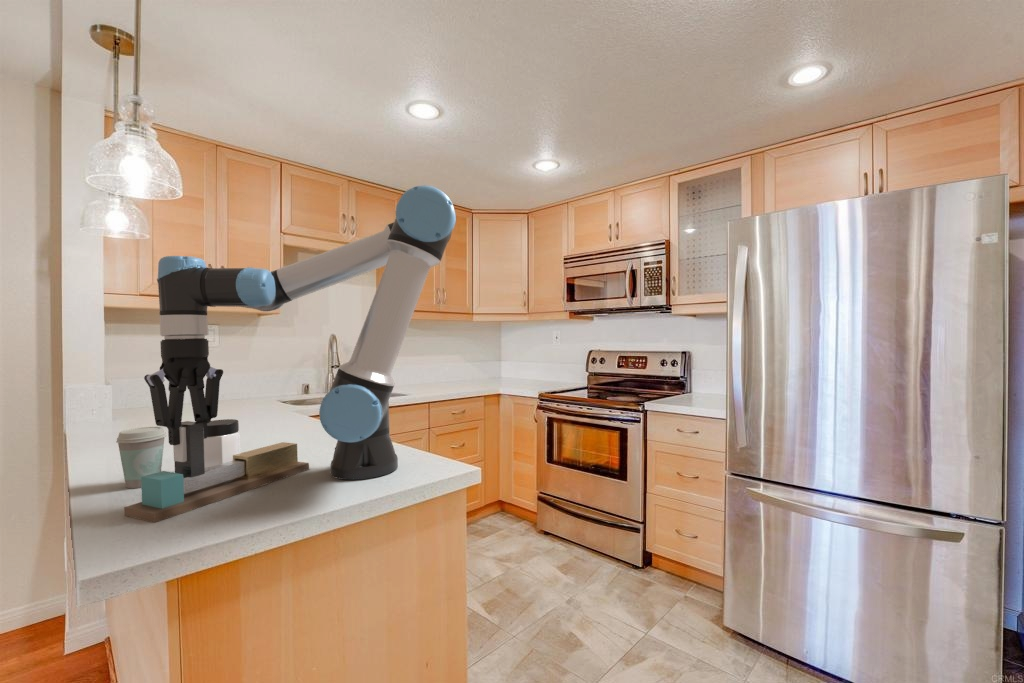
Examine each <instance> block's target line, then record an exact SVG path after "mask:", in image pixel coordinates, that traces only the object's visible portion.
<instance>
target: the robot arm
mask: <svg viewBox="0 0 1024 683" xmlns="http://www.w3.org/2000/svg"><path fill="white" fill-rule="evenodd" d="M456 218H457V217H456V211H455V207H454V204H453V202H452V200H451V198H450V197H449V196H448V195H447V194H446V193H445V192H443V191H442V190H441V189H439V188H437V187H435V186H432V185H431V186H430V185H416V186H413V187H411V188H409V189H407V190H406V191H405V192H403V194H402V195H401V196H400V197H399V200H398V202H397V203H396V206H395V219H394V222H391V223H388V224H386V225H385V227H384V230H382V231H380V232H377V233H374V234H371V235H369V236H366V237H363V238H360V239H357V240H354V241H352V242H349V243H346V244H344V245H341V246H338V247H336V248H332V249H330V250H327V251H324V252H321V253H319V254H316V255H313V256H310V257H308V258H305V259H302V260H299V261H297V262H293V263H291V264H288V265H285V266H282V267H280V268H277V269H276V270H272V271H270V270H268V268H255V267H249V266H248V267H236V268H235V267H231V268H230V267H229V268H227V267H224V268H222V267H220V268H217V267H215V268H212V267H208V266H207V265H206V261H205V260H204V259H202V258H200V257H195V256H189V255H188V256H186V255H185V256H184V255H183V256H182V255H167V256H163V257H161V258H159V260H158V264H157V266H158V267H157V268H158V269H157V278H156V281H157V287H158V303H159V332H160V333H159V335H160V336H161V337H164V339H161V340H160V358H161V360H162V361H161V364H160V367H159V370H157V371H155V372H153V373H151V374H146V375H144V377H143V379H144V381H145V383H146V384H147V386H148V387H149V391H150V398H151V403H152V410H153V415H154V416H153V417H154V422H155V425H156V427H163V428H167V432H168V433H167V434H168V444H169V446H173V447H172V448H173V461H174V462H175V461H178V462H185V461H187V448H186V427H180V426H181V422H183V421H182V418H183V411H184V410H183V409H184V402H185V400H184V399H185V392H186V391H187V390H188V391H189V396H190V401H191V407H192V412H193V420H194V422H202V423H203V433H204V439H205V438H207V423H209V422H210V421H212V419H215V418H217V416H218V411H219V410H218V409H219V399H220V398H219V397H220V396H219V395H220V385H221V384H220V382H221V378H222V377H223V374H224V370H223V369H222V368H221V369H218V368H215V367H212V366H211V363H210V362H209V358H208V357H209V355H210V349H209V340H208V338H206V336H208V335H209V322H208V307H211V308H213V307H214V308H215V307H224V308H226V307H227V308H228V307H229V308H230V307H234V308H235V307H236V308H237V307H240V308H245V309H253V310H257V311H260V312H271V311H277V310H278V309H280V308H282V307H283V306H284V304H286V303H289V302H292V301H294V300H296V299H299V298H303V297H304V296H308V295H310V294H313V293H316V292H318V291H320V290H324V289H326V288H329V287H332V286H335V285H337V284H339V283H343V282H346V281H347V280H350V279H354V278H356V277H359V276H361V275H364V274H367V273H369V272H372V271H374V270H377V269H380V268H384V270H383V273H382V274H381V277H380V280H379V282H378V286H377V288H376V291H375V293H374V296H373V299H372V301H371V304H370V307H369V309H368V311H367V315H366V317H365V319H364V322H363V325H362V328H361V330H360V333H359V336H358V338H357V342H356V343H355V346H354V349H353V351H352V353H351V355H350V356H351V357H350V359H349V360H348V362H345V363H343V364H340V365H339V366H338V369H337V372H336V374H335V377H334V379H333V381H332V384H331V387H330V389H329V391H328V392H327V393H326V394H325V396H324V397H323V398H322V400H321V403H320V406H319V411H318V412H319V414H318V415H319V416H318V417H319V420H320V424H321V426H322V428H323V429H324V431H325V432H326V433H327V434H328V435H329V436H330V437H331V438H332V439H335V440H336V441H337V443H336V445H335V449H334V453H333V457H332V460H331V461H330V464H329V465H330V467H329V468H330V470H329V471H330V475H331V477H333V478H335V479H340V480H349V481H350V480H365V479H373V478H377V477H378V478H379V477H383V476H385V475H388V474H391V473H392V472H395V471H396V470H397V469H398V467H399V461H398V460H399V459H398V456H397V453H396V452H395V448H394V445H393V442H392V441H393V440H392V439H391V436H390V404H389V401H390V397H391V396H392V392H393V391H394V390H393V389H394V387H395V384H396V383H395V382H394V380H393V377H392V372H393V369H394V366H395V363H396V360H397V357H398V355H399V353H400V350H401V348H402V345H403V342H404V340H405V336H406V334H407V332H408V329H409V327H410V326H409V325H410V324H411V320H412V318H413V316H414V315H413V314H415V309H416V306H417V304H418V301H419V299H420V296H421V294H422V292H423V288H424V286H425V283H426V281H427V278H428V276H429V273H430V270H431V269H432V268H433V267H436V266H437V265H440V263H441V261H442V259H443V256H444V253H445V250H446V248H447V245H448V243H449V242H450V239H451V237H452V233H453V229H455V225H456V220H457V219H456ZM205 377H206V381H205V382H204V379H205ZM164 378H165V379H166V380H167V382H168V388H167V390H168V391H169V394H168V398H167V392H166V387H165V384H164V382H165V381H166V380H165V379H164ZM204 389H205V390H204Z"/></svg>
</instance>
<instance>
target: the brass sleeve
mask: <svg viewBox="0 0 1024 683" xmlns="http://www.w3.org/2000/svg"><path fill="white" fill-rule="evenodd" d="M237 459H244V460H246V475H244V476H241V477H237V478H241V479H248V480H249V479H252V478H255V477H258V476H261V475H264V474H267V473H271V472H274V471H277V470H280V469H283V468H286V467H289V466H292V465H295V464H298V462H299V461H298V443H294V442H285V441H284V442H279V443H278V442H277V443H275V444H269V445H266V446H264V447H259V448H256V449H252V450H248V451H244V452H240V454H236V455H233V460H237Z"/></svg>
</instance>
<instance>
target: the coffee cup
mask: <svg viewBox="0 0 1024 683" xmlns="http://www.w3.org/2000/svg"><path fill="white" fill-rule="evenodd" d="M165 437H167V433H166V432H165V430H164V426H146V427H145V426H144V427H136V428H130V429H125V430H122V431H119V432H118V436H117V438H116V442H115V443H117V445H118V451H119V456H120V462H121V466H122V473H123V477H124V482H125V488H127V489H139V488H141V477H142V476H146V475H150V474H154V473H158V472H161V471H162V466H163V455H164V448H165V446H164V445H165Z"/></svg>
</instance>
